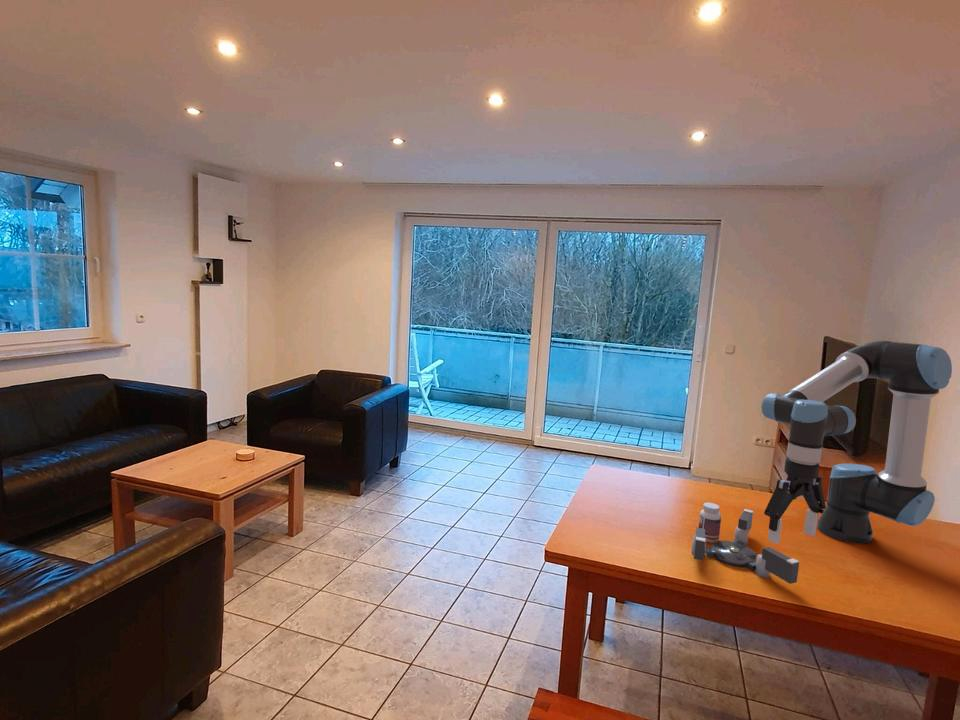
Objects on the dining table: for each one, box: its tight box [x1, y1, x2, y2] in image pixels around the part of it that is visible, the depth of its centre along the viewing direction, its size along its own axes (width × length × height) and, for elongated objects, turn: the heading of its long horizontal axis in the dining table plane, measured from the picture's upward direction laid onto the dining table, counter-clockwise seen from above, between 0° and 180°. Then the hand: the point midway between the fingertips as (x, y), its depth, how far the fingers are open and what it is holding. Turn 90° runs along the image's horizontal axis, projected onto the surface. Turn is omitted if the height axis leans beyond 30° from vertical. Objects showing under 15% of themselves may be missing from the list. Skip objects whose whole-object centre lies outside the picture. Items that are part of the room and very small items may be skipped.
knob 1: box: [733, 508, 754, 547], centre depth 168 cm, size 11×4×8 cm, turn 143°
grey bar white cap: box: [754, 546, 800, 585], centre depth 145 cm, size 11×4×8 cm, turn 23°
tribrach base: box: [705, 540, 757, 572], centre depth 158 cm, size 14×15×3 cm
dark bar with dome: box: [691, 527, 707, 561], centre depth 155 cm, size 11×4×8 cm, turn 158°
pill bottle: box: [698, 502, 722, 544], centre depth 168 cm, size 6×6×11 cm
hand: (791, 538), depth 140 cm, fingers open, 13 cm apart
